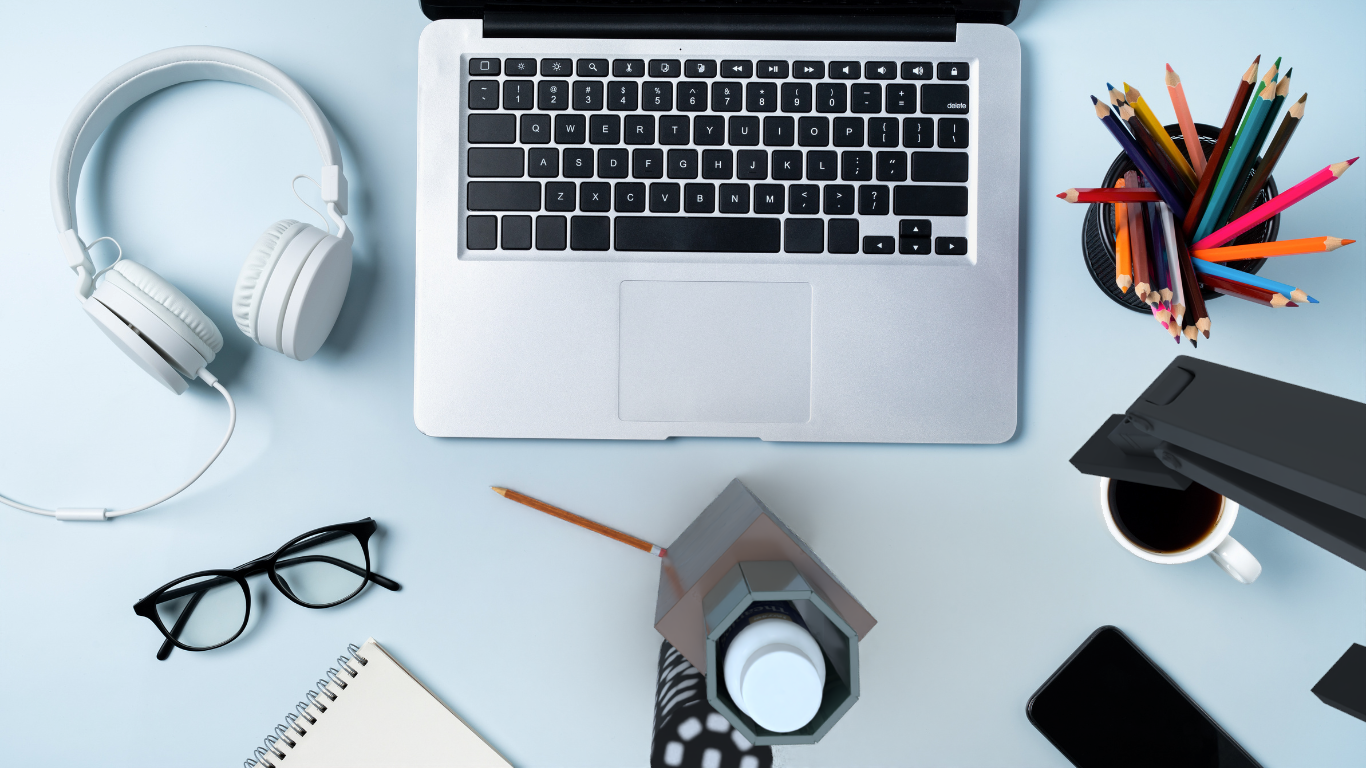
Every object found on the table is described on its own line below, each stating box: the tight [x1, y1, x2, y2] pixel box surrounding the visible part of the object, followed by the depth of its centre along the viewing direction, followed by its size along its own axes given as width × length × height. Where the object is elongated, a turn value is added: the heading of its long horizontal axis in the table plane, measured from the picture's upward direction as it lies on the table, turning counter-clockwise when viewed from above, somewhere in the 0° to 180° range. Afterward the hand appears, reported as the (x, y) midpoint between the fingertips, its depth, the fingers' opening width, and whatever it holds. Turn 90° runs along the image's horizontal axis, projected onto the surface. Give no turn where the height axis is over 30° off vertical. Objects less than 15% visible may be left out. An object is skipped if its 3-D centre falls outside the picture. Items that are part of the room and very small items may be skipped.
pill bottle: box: [719, 600, 826, 732], centre depth 42 cm, size 5×5×10 cm
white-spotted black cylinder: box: [649, 638, 774, 768], centre depth 62 cm, size 8×8×20 cm
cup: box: [702, 560, 861, 746], centre depth 44 cm, size 8×8×8 cm
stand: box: [653, 477, 879, 676], centre depth 60 cm, size 10×10×24 cm
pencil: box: [488, 485, 667, 558], centre depth 72 cm, size 1×18×1 cm, turn 69°
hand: (1216, 557), depth 32 cm, fingers open, 13 cm apart
